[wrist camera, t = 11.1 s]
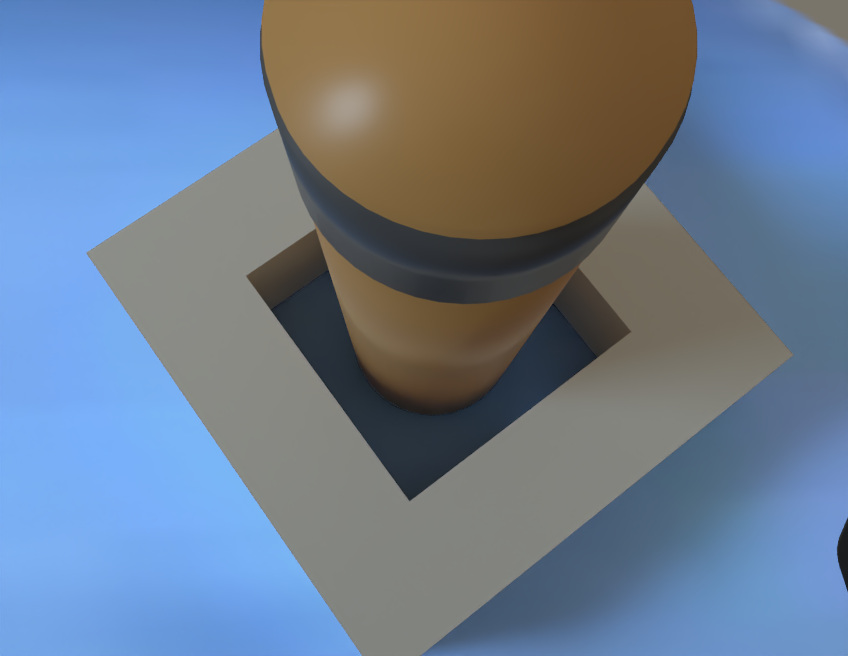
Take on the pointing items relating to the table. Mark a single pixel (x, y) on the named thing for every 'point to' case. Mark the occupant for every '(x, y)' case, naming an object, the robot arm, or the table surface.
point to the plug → (467, 163)
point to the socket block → (481, 471)
